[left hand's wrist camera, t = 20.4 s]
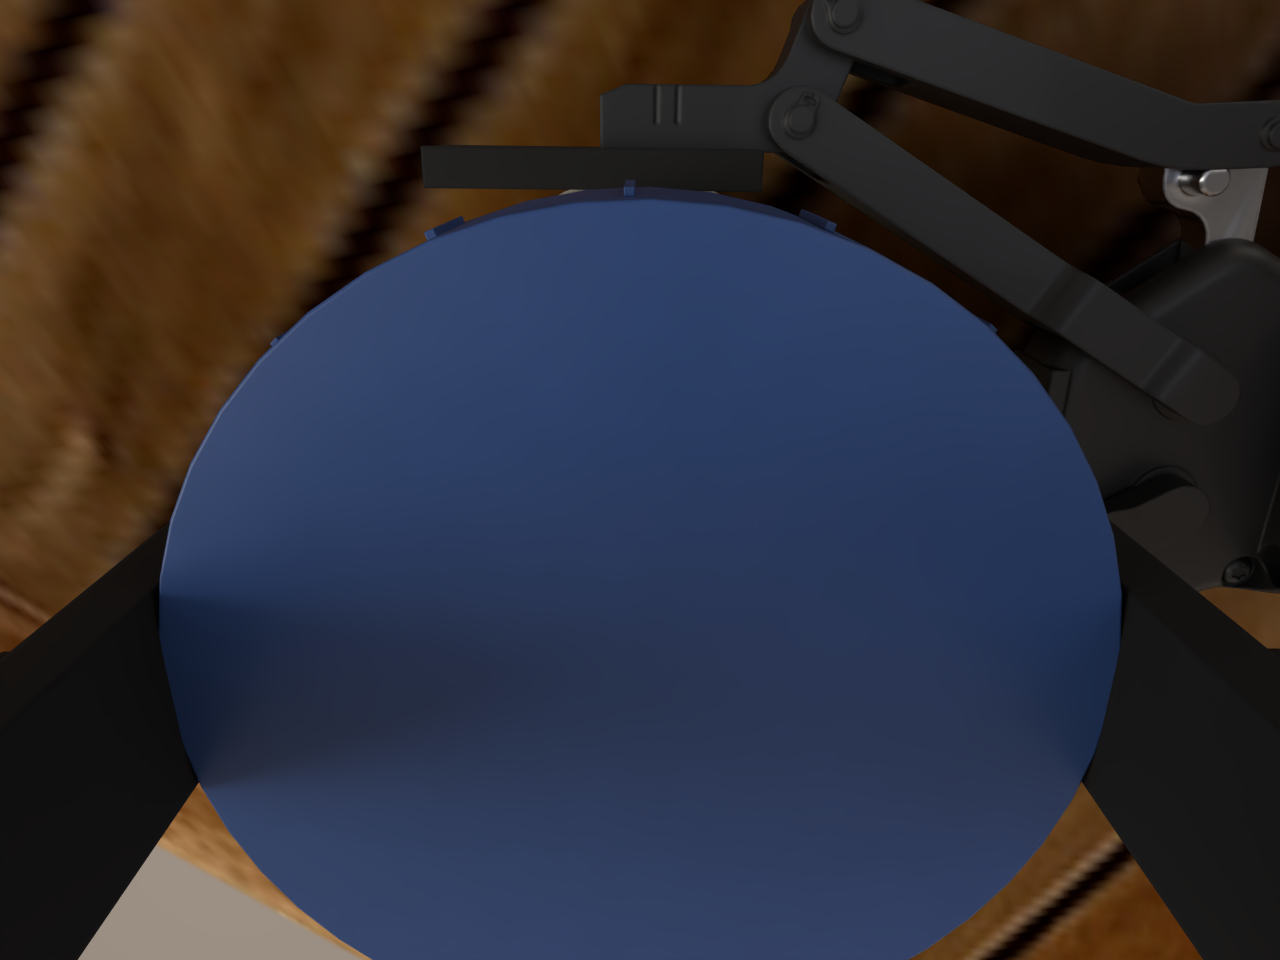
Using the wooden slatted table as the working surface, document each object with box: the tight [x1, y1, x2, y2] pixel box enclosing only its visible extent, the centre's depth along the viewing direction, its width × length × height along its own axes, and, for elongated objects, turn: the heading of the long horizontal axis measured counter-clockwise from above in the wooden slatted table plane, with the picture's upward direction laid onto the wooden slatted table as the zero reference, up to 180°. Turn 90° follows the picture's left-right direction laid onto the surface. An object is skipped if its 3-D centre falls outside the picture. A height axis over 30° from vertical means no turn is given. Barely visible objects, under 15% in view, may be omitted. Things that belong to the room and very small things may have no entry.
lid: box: [158, 180, 1122, 960], centre depth 11 cm, size 11×11×2 cm
